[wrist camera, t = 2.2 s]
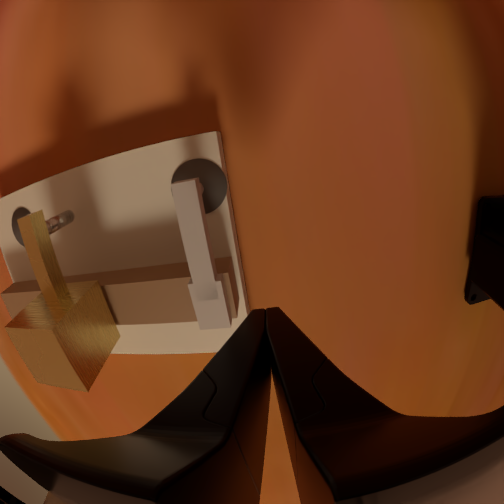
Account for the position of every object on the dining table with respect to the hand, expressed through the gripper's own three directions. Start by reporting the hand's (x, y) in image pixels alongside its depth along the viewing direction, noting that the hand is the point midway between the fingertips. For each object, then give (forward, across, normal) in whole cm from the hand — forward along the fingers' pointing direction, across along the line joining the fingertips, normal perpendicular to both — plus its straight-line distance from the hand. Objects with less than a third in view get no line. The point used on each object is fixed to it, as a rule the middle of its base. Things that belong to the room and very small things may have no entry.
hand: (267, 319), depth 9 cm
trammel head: (+3, +8, -2) cm, 9 cm away
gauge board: (+4, +8, -1) cm, 9 cm away
